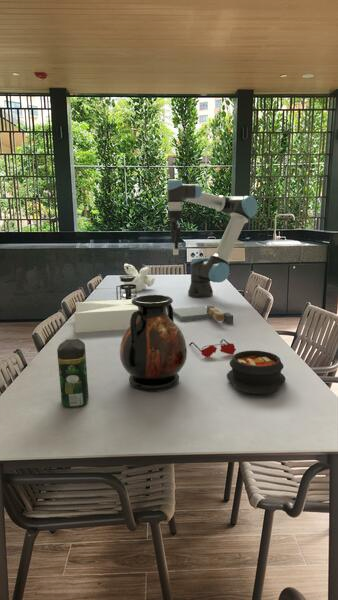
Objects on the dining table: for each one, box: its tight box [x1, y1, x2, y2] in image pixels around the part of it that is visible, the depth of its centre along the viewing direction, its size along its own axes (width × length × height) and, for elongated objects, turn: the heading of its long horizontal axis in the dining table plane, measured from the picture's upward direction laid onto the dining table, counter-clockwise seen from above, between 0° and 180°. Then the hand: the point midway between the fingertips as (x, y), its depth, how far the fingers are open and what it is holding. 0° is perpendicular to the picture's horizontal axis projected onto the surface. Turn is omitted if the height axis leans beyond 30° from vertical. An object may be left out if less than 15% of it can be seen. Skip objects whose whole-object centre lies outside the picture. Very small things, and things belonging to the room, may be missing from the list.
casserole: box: [226, 350, 287, 395], centre depth 142 cm, size 25×19×8 cm
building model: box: [73, 298, 175, 333], centre depth 213 cm, size 45×22×10 cm, turn 100°
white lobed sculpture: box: [123, 263, 156, 293], centre depth 290 cm, size 19×20×20 cm
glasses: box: [188, 338, 237, 358], centre depth 174 cm, size 14×16×5 cm
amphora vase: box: [119, 294, 188, 392], centre depth 141 cm, size 22×22×28 cm
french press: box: [115, 264, 138, 300], centre depth 242 cm, size 12×9×23 cm
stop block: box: [222, 312, 234, 325], centre depth 211 cm, size 3×6×4 cm, turn 17°
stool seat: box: [173, 305, 214, 322], centre depth 223 cm, size 18×16×2 cm
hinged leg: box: [206, 305, 224, 322], centre depth 212 cm, size 18×4×3 cm, turn 12°
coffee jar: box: [56, 338, 89, 409], centre depth 129 cm, size 10×8×19 cm
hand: (175, 254), depth 239 cm, fingers closed
